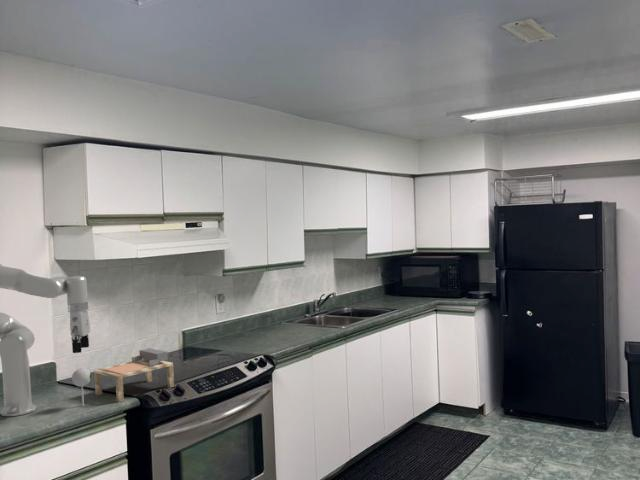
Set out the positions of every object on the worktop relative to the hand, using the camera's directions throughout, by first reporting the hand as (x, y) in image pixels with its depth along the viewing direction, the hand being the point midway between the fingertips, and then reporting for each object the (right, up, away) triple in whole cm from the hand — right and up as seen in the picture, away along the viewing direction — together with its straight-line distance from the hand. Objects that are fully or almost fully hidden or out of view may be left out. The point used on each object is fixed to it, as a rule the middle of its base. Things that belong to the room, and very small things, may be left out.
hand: (81, 350), depth 235 cm
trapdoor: (+16, -12, +20) cm, 28 cm away
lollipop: (+1, -23, +1) cm, 23 cm away
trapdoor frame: (+15, -21, +20) cm, 33 cm away
